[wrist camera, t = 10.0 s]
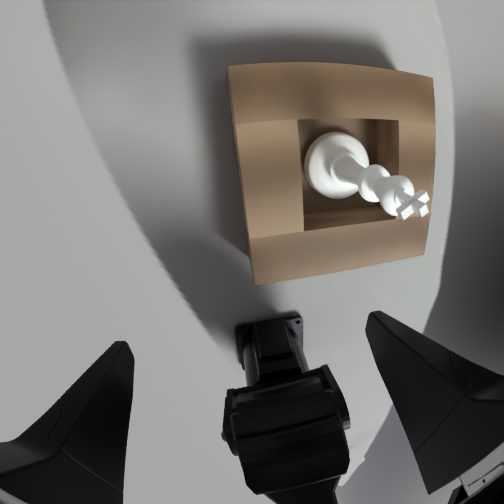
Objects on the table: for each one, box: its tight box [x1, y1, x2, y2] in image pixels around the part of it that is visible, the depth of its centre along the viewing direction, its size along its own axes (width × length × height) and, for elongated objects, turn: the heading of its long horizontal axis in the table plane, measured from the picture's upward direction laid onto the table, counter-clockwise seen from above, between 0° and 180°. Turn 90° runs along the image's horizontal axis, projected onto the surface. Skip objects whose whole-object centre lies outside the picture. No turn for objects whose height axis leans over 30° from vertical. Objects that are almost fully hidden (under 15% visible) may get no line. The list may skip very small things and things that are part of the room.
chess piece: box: [304, 132, 429, 220], centre depth 14 cm, size 5×5×10 cm
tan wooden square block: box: [226, 62, 435, 286], centre depth 18 cm, size 14×14×4 cm
